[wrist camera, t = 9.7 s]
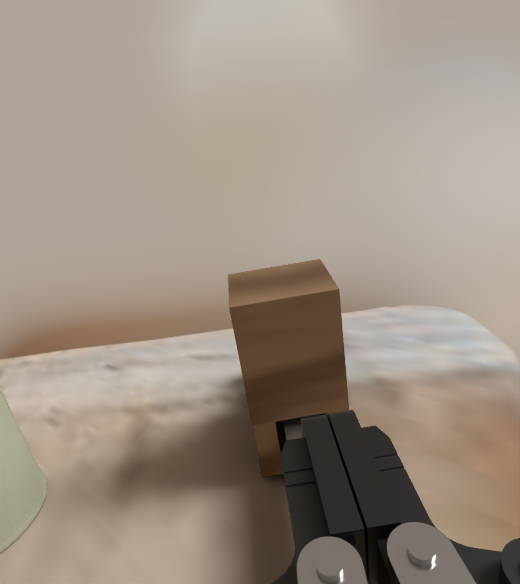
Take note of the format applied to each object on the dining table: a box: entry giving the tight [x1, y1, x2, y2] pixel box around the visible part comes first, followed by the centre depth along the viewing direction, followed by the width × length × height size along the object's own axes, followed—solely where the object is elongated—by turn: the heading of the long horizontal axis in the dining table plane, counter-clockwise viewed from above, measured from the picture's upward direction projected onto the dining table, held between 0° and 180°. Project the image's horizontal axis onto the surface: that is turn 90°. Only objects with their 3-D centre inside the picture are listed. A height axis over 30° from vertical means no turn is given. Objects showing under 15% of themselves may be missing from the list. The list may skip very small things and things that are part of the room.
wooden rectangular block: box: [228, 259, 349, 477], centre depth 28 cm, size 5×6×12 cm
